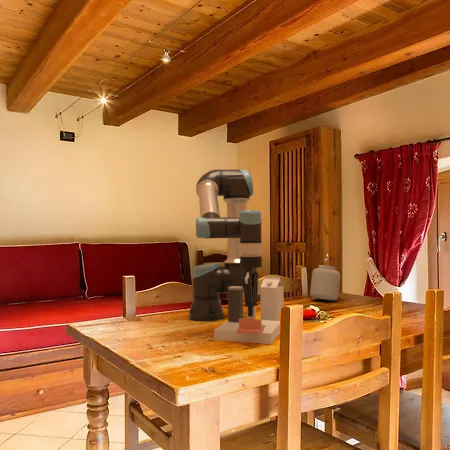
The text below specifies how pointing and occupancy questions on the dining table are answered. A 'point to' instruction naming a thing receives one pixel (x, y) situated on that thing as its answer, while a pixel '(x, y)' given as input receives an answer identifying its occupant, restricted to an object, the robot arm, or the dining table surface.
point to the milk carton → (271, 298)
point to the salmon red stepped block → (250, 326)
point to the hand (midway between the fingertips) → (251, 325)
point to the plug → (235, 303)
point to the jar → (325, 283)
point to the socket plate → (266, 336)
